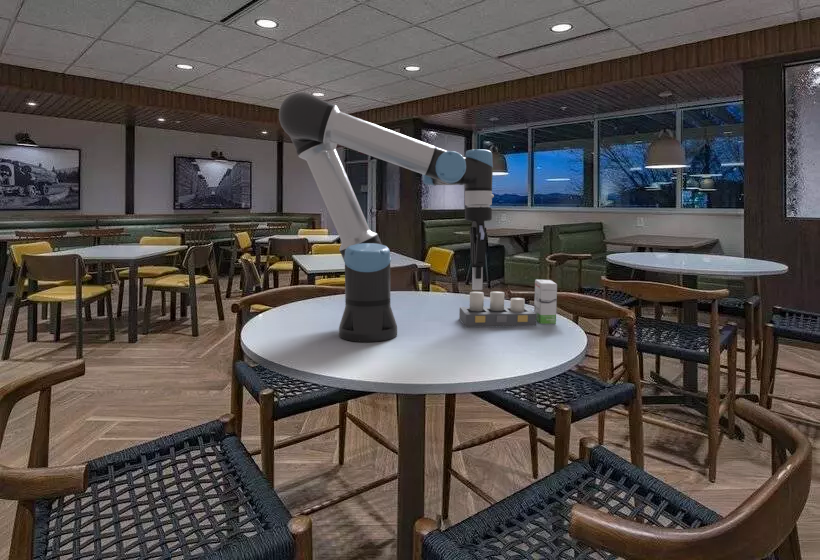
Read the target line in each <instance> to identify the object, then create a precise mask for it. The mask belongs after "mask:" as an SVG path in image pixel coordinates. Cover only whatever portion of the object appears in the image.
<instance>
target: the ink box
mask: <svg viewBox="0 0 820 560" xmlns="http://www.w3.org/2000/svg"><path fill="white" fill-rule="evenodd" d="M557 296H558V284H557V283H556V282H554V281H553V280H552V279H535V280H534V302H533V306H534V307H533V312H535V313H536V314H537V319H536V322H537V323H538V324H542V325H543V324H544V325H545V324H547V325H549V324H550V325H554V324H555V325H556V324H557V304H558V302H557V301H558V299H557Z"/></svg>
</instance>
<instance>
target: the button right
mask: <svg viewBox="0 0 820 560" xmlns="http://www.w3.org/2000/svg"><path fill="white" fill-rule="evenodd" d="M525 301H526V300H525V298H524V297H523V298H522V297H511V298H510V311H511V312H524V306H526V305H525Z"/></svg>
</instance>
